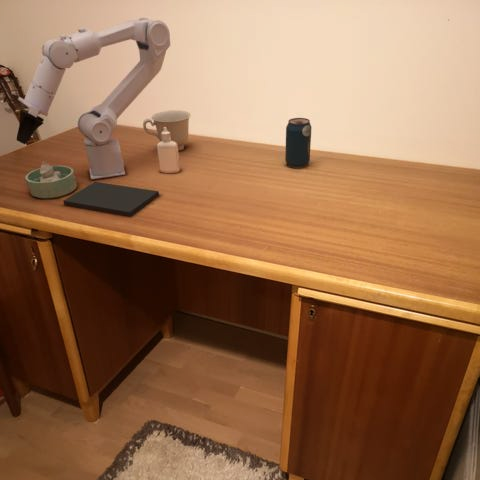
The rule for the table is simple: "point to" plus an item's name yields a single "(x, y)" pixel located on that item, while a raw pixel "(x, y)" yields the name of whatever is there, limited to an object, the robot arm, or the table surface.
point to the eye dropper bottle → (168, 154)
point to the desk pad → (112, 198)
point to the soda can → (298, 142)
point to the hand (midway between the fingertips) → (21, 140)
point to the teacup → (171, 125)
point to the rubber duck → (48, 173)
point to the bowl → (51, 183)
